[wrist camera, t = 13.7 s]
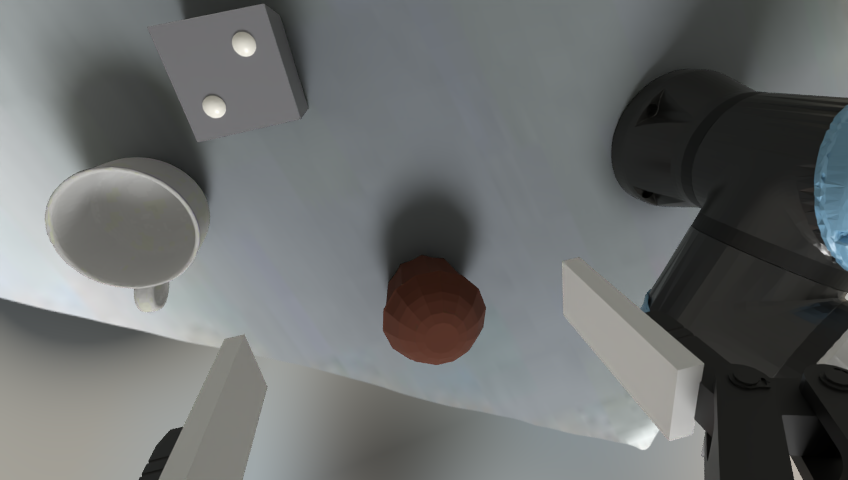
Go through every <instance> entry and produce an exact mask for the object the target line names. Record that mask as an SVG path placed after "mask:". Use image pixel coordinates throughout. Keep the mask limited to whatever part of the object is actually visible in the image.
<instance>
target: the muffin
mask: <svg viewBox="0 0 848 480" xmlns="http://www.w3.org/2000/svg"><path fill="white" fill-rule="evenodd" d="M485 310H486V307H485V304H484V301H483V299H482V296H481V294H480V291H479V289H478V288H477V287H476V286H475V285H473V284H472V283H471V282H470V281H468V280H467V279H466V278H465V277H464V276H462V275H460V274H459V273H458V272H457V271H456V270H455V269H454V268H453V267H452V266H451V265H450V264H449V263H448V262H447V261H446V260H445V259H444V258H432V257H428V256H424V255H421V256H419V257H417V258H415V259H413V260H411V261H408V262H405V263H403V264H400V266H399V268H398V270H397V272H396V273H395V275H394V276H393V277H392V279H391V280H390V281H389V282H388V291H387V301H386V306H385V308H384V311H383V331H384V333H385V335H386V337H387V339H388V340H389V342H390V344H391V346H392V348H393V349H395V350H396V351H398V352H399V353H401V354H403V355H404V356H406V357H407V358H409V359H411V360H414V361H416V362H422V363H428V364H434V365H439V364H443V363H447V362H452V361H454V360H456V359H457V358H459V357H460V356H462V355H463V354H465V353H466V352H468V351H469V350H470V348H471V347H472V345H473V343H474V342H475V340H476V339H477V337H478V336H479V334H480V332H481V330H482V328H483V324H484V317H485Z"/></svg>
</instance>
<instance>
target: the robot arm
mask: <svg viewBox="0 0 848 480" xmlns="http://www.w3.org/2000/svg"><path fill="white" fill-rule="evenodd" d="M612 166H613V170H614V174H615V176H616V179H617V181H618V182H619V184H620V185H621V187H622V188H623V189H624V190H625V191H626V192H627V193H629V194H630V195H632V196H633V197H635V198H637V199H640V200H642V201H644V202H646V203H649V204H652V205H656V206H664V207H698V208H702V209H701V210H700V212H699V214H698V215H697V217H696V219H695V220H694V222H693V224H692V225H691V226H690V228H689V229H688V231H687V233H686V234H685V236H684V238H683V239H682V241H681V243H680V244H679V246H678V247H677V249H676V251H675V252H674V254H673V256H672V257H671V259H670V261H669V262H668V264H667V265H666V267H665V269H664V270H663V272H662V273H661V275H660V277H659V278H658V280H657V281H656V283H655V284H654V286H653V287H652V289H650V290H649V291H648V292H647V294H646V295H645V299H644V303H643V305H642V307H641V309H640V308H638V307H637V306H636V305H635V304H634V303H633V302H631V301H630V300H629V299H628V298H627V297H626V296H624V295H623V294H622V293H621V292H620V291H619V290H617V289H616V288H615V287H614V286H613V285H611V284H610V283H609V282H608V281H607V280H606V279H604V278H603V277H602V276H601V275H600V274H599V273H597V272H596V271H595V270H594V269H593V268H592V267H590V266H589V265H588V264H587V263H586V262H584V261H583V260H582V259H581V258H580V257H578V258H574V259H569V260H565V261H562V278H563V315H564V317H565V318H566V319H567V320H568V321H569V323H570V324H571V325H572V326H573V327H574V328H575V330H576V331H577V332H578V333H579V334H580V336H581V337H582V338H583V339H584V340H585V342H586V343H587V344H588V345H589V346H590V348H591V349H592V350H593V351H594V352H595V354H596V355H597V356H598V357H599V358H600V360H601V361H602V362H603V363H604V364H605V365H606V367H607V368H608V369H609V370H610V371H611V373H612V374H613V375H614V376H615V377H616V379H617V380H618V381H619V382H620V383H621V385H622V386H623V387H624V388H625V389H626V391H627V392H628V393H629V394H630V395H631V397H632V398H633V399H634V400H635V401H636V402H637V404H638V405H639V406H640V407H641V408H642V410H643V411H644V412H645V413H646V414H647V416H648V417H649V418H650V419H651V420H652V422H653V423H654V424H655V425H656V426H657V428H658V429H659V430H660V431H661V432H662V433H663V435H664V436H665V437H666V438H667V439H668V441H671V440H674V439H679V438H682V437H686V436H690V435H693V430H694V424H695V420H696V421H697V422H698V423H699V424H700V425H701V426H702V427H703V429H704V430H705V431H706V432H705V437H704V443H703V449H702V454H701V456H702V457H704V461H705V462H704V467H705V470H704V472H705V473H704V474H705V480H794V477H793V472H792V466H791V461H790V456H791V458H792V459H793V461H794V463H795V465H796V467H797V469H798V471H799V473H800V475H801V476H802V478H803V480H848V301H847V300H846V299H845V296H846V294H847V293H848V98H842V97H827V96H813V95H798V94H783V93H767V92H756V91H754V90H752V89H750V88H749V87H747V86H745V85H743V84H741V83H739V82H737V81H735V80H733V79H732V78H730V77H728V76H726V75H724V74H722V73H719V72H716V71H711V70H702V69H683V70H677V71H673V72H670V73H668V74H665V75H663V76H661V77H659V78H657V79H656V80H654V81H653V82H651V83H650V84H648V85H647V86H646V87H645V88H644V89H642V90H641V91H640V92H639V93H638V94H637V95H636V97H635V98H634V99H633V100H632V101H631V103H630V104H629V105H628V107H627V108H626V110H625V112H624V113H623V115H622V117H621V119H620V121H619V123H618V126H617V128H616V131H615V134H614V138H613V144H612ZM266 390H267V385H266V382H265V380H264V378H263V376H262V373H261V371H260V369H259V367H258V364H257V362H256V360H255V357H254V355H253V353H252V351H251V348H250V346H249V344H248V341H247V339H246V337H245V335H240V336H236V337H231V338H227V339H224V342H223V344H222V346H221V348H220V350H219V352H218V354H217V356H216V359H215V361H214V363H213V365H212V367H211V369H210V371H209V374H208V376H207V378H206V380H205V382H204V384H203V386H202V388H201V390H200V393H199V395H198V397H197V399H196V401H195V403H194V406H193V407H192V410H191V412H190V414H189V416H188V418H187V420H186V422H185V424H184V427H180V428H176V429H172V430H170V431H169V432H168V433H167V434H166V435H165V436H164V437H163V439H162V440H161V441H160V442H159V443H158V444H157V445H156V447H155V449H154V451H153V453H152V455H151V457H150V459H149V463H148V464H147V465H146V467H145V468H144V470H143V472H142V477H140V478H139V480H243V476H244V472H245V468H246V465H247V461H248V457H249V453H250V450H251V446H252V442H253V439H254V435H255V431H256V427H257V424H258V420H259V416H260V412H261V409H262V405H263V401H264V397H265V394H266ZM789 455H790V456H789Z"/></svg>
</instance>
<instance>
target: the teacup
mask: <svg viewBox="0 0 848 480" xmlns="http://www.w3.org/2000/svg"><path fill="white" fill-rule="evenodd" d="M45 223H46V231H47V235H48V236H49V239H50V242H51V243H52V244H53V247H54V248H55V250H56V252H57V253H58V254H59V255H60V256H61V258H62V259H63V260H64V261H65V262H66V263H67V264H68V265H69V266H71V267H72V268H73V269H75V270H76V271H77V272H79V273H80V274H82V275H84V276H86V277H88V278H89V279H92V280H94V281H97V282H99V283H102V284H106V285H110V286H115V287H122V288H134V299H135V304H136V306H137V308H138V309H139V310H141V311H143V312H155V311H158V310H160V309H162V308H163V306H164V305H165V303H166V301H167V297H168V292H169V281H171V280H173V279H174V278H176V277H178V276H180V275H181V274H182V273H183V272H184V271H186V270H187V269H188V268H189V267H190V265H191V264H192V262H193V261H194V259H195V257H196V255H197V253H198V250H199V248H200V247H201V245H202V243H203V241H204V239H205V237H206V234H207V231H208V228H209V223H210V212H209V206H208V203H207V200H206V197H205V195H204V193H203V192H202V190H201V189H200V187H199V186H198V185H197V183H196V182H195V181H194V180H193V179H192V178H191V177H190V176H188V175H187V174H186V173H185V172H183V171H182V170H180V169H179V168H177V167H175V166H173V165H171V164H169V163H166V162H163V161H160V160H156V159H151V158H144V157H130V158H122V159H117V160H114V161H110V162H107V163H104V164H101V165H99V166H96V167H94V168H90V169H86V170H83V171H80V172H78V173H76V174H74V175H72V176H71V177H69V178H68V179H66V180H65V181H63V182H62V183H61V184H60V185H59V186H58V188H57V189H55V191H54V192H53V193H52V195H51V197H50V199H49V201H48V204H47V207H46V213H45Z"/></svg>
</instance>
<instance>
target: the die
mask: <svg viewBox="0 0 848 480" xmlns="http://www.w3.org/2000/svg"><path fill="white" fill-rule="evenodd" d="M147 28H148V30H149V33H150V35H151V37H152V39H153V42H154V44H155V46H156V49H157V51H158V53H159V55H160V58H161V60H162V62H163V65H164V67H165V69H166V71H167V74H168V76H169V78H170V81H171V83H172V85H173V87H174V90H175V92H176V94H177V97H178V99H179V101H180V103H181V106H182V108H183V110H184V113H185V115H186V117H187V119H188V122H189V124H190V126H191V129H192V131H193V133H194V135H195V138H196V140H197V142H202V141H206V140H211V139H215V138H220V137H224V136H228V135H233V134H237V133H242V132H246V131H251V130H255V129H259V128H264V127H268V126H273V125H277V124H281V123H286V122H290V121H295V120H299V119H301V118H302V117H303V115H304V114H305V113H306V111H307V110H308V105H307V102H306V98H305V95H304V92H303V89H302V85H301V82H300V79H299V76H298V72H297V69H296V66H295V63H294V59H293V56H292V53H291V50H290V46H289V43H288V40H287V36H286V33H285V30H284V27H283V23H282V20H281V17H280V15H279V14H278V13H276V12H275V11H274V10H272V9H271V8H269V7H268V6H267V5H265V4H259V5H254V6H249V7H244V8H239V9H234V10H229V11H224V12H219V13H214V14H209V15H204V16H199V17H194V18H189V19H184V20H179V21H174V22H170V23H165V24H160V25H155V26H150V27H147Z"/></svg>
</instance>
